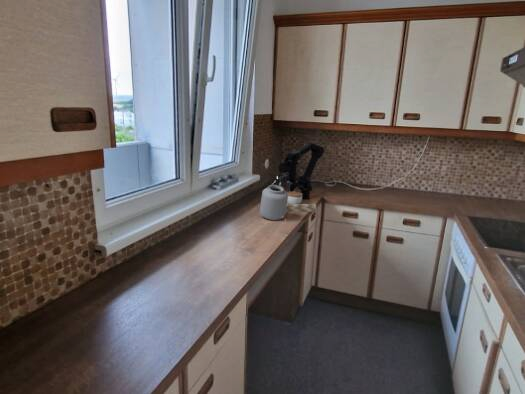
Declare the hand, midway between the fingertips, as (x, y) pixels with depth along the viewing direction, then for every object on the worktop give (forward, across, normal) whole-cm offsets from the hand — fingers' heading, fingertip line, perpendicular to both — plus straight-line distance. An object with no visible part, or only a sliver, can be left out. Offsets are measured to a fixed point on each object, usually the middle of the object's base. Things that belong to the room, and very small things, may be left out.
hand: (290, 194), depth 241 cm
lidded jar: (+5, +9, 0) cm, 10 cm away
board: (+5, +23, 0) cm, 24 cm away
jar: (+5, +37, -19) cm, 42 cm away
